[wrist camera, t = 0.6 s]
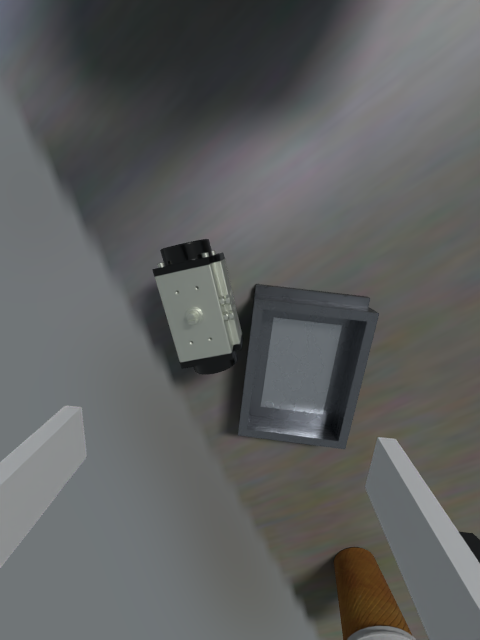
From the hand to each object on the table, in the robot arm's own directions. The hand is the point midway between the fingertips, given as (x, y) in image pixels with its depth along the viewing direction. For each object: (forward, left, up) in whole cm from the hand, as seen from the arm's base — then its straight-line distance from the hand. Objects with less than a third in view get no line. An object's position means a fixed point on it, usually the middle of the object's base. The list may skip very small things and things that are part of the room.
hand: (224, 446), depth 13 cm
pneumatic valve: (-3, -4, -23) cm, 23 cm away
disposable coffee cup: (+37, +21, -23) cm, 49 cm away
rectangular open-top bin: (+5, +7, -23) cm, 24 cm away
